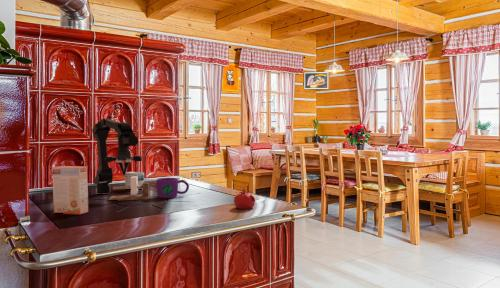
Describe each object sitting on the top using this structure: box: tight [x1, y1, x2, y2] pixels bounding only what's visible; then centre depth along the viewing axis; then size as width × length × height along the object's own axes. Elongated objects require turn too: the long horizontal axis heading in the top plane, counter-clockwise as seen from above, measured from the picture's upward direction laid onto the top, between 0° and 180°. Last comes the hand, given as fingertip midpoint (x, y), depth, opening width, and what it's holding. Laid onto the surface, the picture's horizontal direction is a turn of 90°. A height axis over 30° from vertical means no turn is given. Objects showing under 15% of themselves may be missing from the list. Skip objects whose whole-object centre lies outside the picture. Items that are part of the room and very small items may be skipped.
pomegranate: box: [233, 187, 256, 210], centre depth 180 cm, size 10×10×9 cm
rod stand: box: [108, 181, 151, 201], centre depth 211 cm, size 20×10×8 cm, turn 100°
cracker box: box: [51, 165, 89, 215], centre depth 175 cm, size 14×6×21 cm, turn 74°
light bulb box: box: [124, 171, 145, 189], centre depth 243 cm, size 11×7×11 cm, turn 58°
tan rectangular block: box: [130, 176, 139, 195], centre depth 211 cm, size 3×7×9 cm, turn 10°
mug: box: [156, 177, 190, 200], centre depth 214 cm, size 17×11×10 cm, turn 104°
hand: (124, 175), depth 210 cm, fingers closed
